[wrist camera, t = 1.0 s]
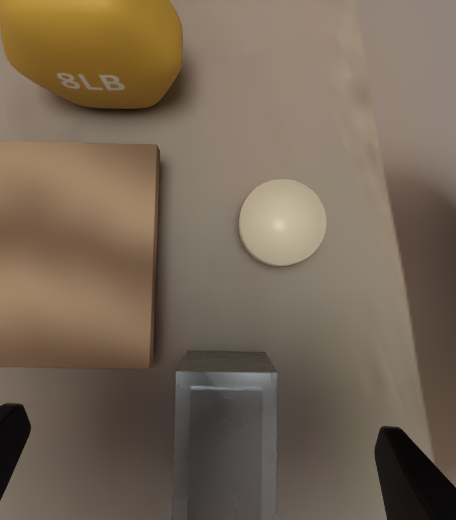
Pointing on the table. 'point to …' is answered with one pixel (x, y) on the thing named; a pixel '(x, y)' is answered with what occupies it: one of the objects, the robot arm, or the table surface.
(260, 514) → the housing
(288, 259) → the cream rounded piece
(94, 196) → the tan flat board
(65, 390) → the table surface
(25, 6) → the dumbbell
